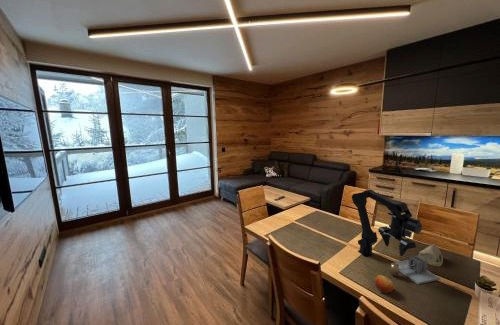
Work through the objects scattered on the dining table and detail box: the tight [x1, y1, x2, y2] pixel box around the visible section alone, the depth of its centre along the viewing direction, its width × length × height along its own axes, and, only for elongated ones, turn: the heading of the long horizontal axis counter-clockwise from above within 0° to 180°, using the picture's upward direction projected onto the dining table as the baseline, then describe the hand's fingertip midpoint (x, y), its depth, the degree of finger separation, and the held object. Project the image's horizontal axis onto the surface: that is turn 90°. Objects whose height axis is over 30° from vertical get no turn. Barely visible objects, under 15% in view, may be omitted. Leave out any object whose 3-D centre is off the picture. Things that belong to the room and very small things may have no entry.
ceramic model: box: [418, 243, 444, 267], centre depth 125 cm, size 14×11×10 cm
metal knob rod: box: [389, 262, 416, 277], centre depth 114 cm, size 18×4×5 cm, turn 103°
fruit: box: [374, 274, 395, 294], centre depth 103 cm, size 8×8×8 cm
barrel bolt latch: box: [394, 254, 441, 285], centre depth 115 cm, size 14×16×8 cm
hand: (394, 250), depth 116 cm, fingers open, 9 cm apart
